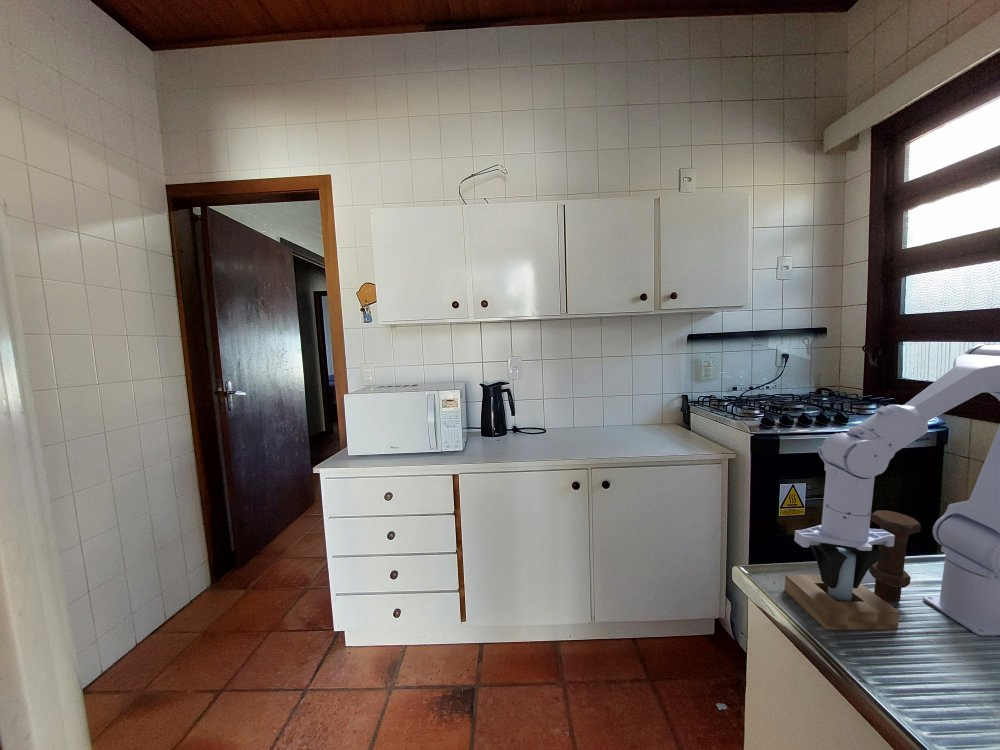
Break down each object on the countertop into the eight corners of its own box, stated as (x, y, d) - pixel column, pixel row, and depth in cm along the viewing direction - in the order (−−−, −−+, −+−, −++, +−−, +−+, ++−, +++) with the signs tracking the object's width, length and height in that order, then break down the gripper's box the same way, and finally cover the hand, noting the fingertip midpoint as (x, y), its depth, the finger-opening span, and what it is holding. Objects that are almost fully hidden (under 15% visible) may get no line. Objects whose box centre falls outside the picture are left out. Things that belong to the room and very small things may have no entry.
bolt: (918, 612, 62) (929, 527, 60) (882, 608, 63) (892, 524, 61) (890, 588, 68) (899, 510, 66) (857, 585, 69) (865, 508, 67)
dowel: (838, 597, 65) (843, 546, 63) (855, 611, 62) (861, 557, 60) (821, 599, 64) (826, 547, 63) (838, 612, 62) (844, 558, 60)
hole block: (846, 589, 68) (847, 574, 67) (897, 629, 59) (899, 611, 58) (784, 590, 68) (785, 574, 68) (826, 629, 59) (827, 612, 59)
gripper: (821, 520, 57) (814, 601, 59) (918, 519, 57) (908, 601, 59) (787, 499, 64) (782, 572, 66) (873, 498, 64) (866, 572, 66)
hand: (839, 584), depth 63 cm, fingers closed on dowel, 3 cm apart
